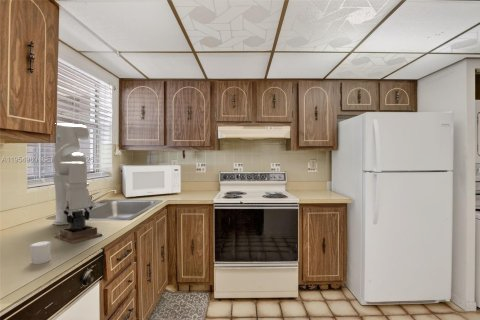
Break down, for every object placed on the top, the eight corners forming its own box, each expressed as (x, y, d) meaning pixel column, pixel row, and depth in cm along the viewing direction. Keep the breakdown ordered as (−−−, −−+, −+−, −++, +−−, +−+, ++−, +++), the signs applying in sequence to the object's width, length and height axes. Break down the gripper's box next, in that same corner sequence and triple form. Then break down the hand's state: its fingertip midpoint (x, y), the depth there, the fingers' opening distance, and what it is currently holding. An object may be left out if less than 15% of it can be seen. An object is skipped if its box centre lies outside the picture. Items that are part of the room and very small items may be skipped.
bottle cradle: (54, 237, 134) (54, 229, 134) (83, 230, 146) (83, 223, 146) (73, 243, 125) (72, 235, 124) (102, 235, 136) (102, 228, 136)
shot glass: (55, 257, 108) (54, 240, 108) (45, 264, 101) (45, 245, 101) (36, 258, 107) (36, 241, 107) (25, 265, 100) (25, 246, 100)
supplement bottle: (88, 232, 139) (88, 209, 138) (81, 236, 132) (80, 212, 131) (75, 232, 139) (74, 209, 138) (67, 236, 132) (66, 212, 131)
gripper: (91, 184, 144) (91, 217, 145) (55, 188, 129) (55, 224, 130) (99, 185, 140) (99, 218, 140) (62, 189, 125) (63, 226, 126)
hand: (78, 221), depth 135 cm, fingers open, 7 cm apart
